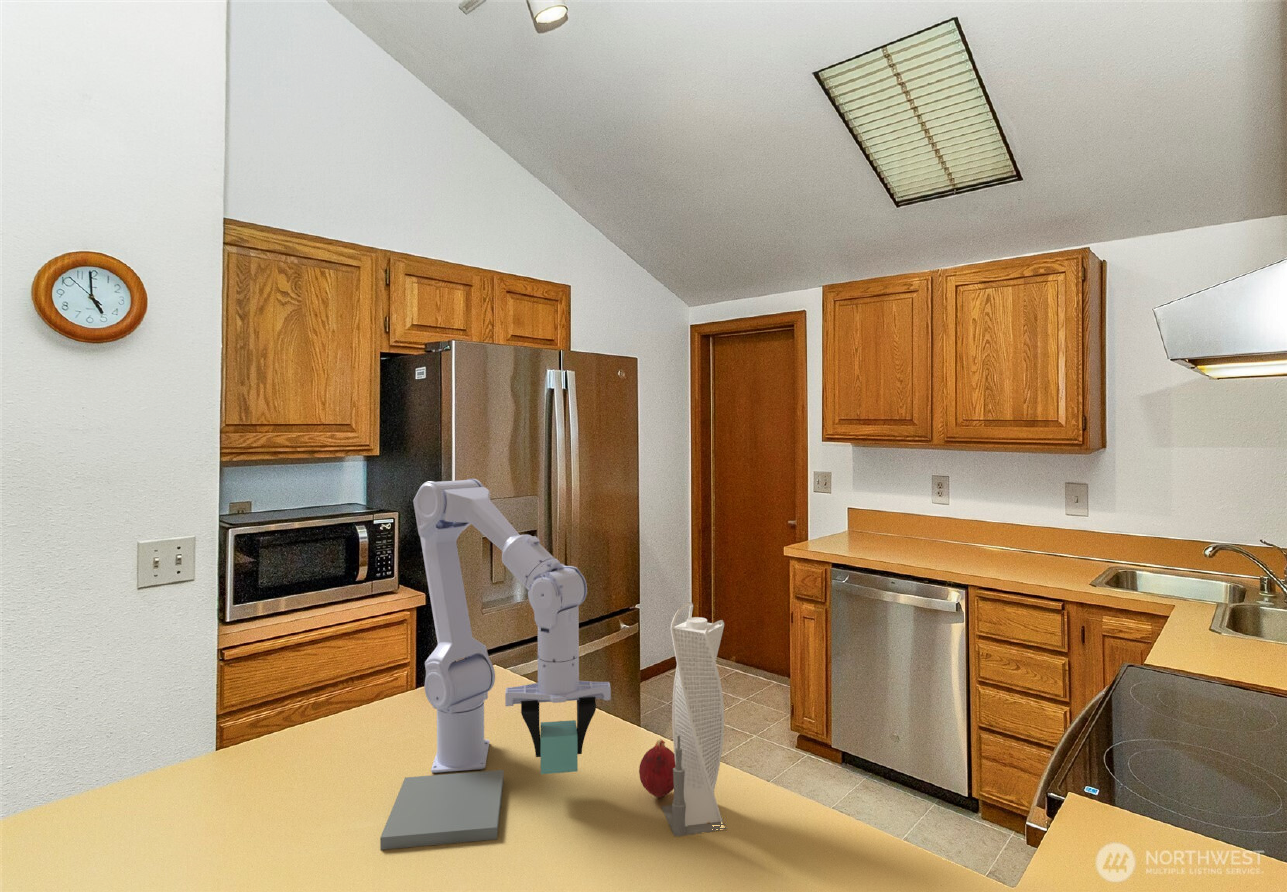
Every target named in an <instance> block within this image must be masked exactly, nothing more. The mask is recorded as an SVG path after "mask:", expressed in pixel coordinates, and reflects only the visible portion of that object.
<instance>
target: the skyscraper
mask: <svg viewBox="0 0 1287 892" xmlns="http://www.w3.org/2000/svg"><path fill="white" fill-rule="evenodd" d="M687 607H689V612H688V617H687V618H686V621H684V622H682V623H679V624H677V625H675V623H676V620H677V618H678V615H680V612H681V611H682V610H683V609H685V608H687ZM693 610H694V604H693V602H686V603H684V604H683V605H681V607H679V608H678V609H677V611H676V612H675V614H674V616H673V618H672V621H671V624H670V627H669V629H670V634H671V639H672V640H671V641H672V644H673V651H674V656H675V661H676V668H675V675H674V681H673V690H672V692H673V693H672V704H671V705H672V707H671V708H672V712H671V715H672V719H671V720H672V725H671V726H672V742H673V753H674V755H675V764H676V767H675V768H673V781H674V789H673V801H671V804H670V805H663V806H661V810H662V812H663V814H664V817H665V819H666V821H667V823H668V825H669V828H670V830H671V832H672V834H673V836H674V837H676V838H677V837H681V836H689V835H690V836H691V835H697V834H696V833H699V834H703V833H702V832H707V833H712V832H711V831H715V830H716V829H718V830H720V829H727V830H728V828H727V826H726V827H725V828H720V827H721V825H725V823H724V821H723V818H722V815H721V814H722V813H721V812H720V809H719V805H718V802H717V799H716V796H715V789H716V785H717V780H718V774H719V770H720V765H721V760H722V759H721V758H722V753H723V745H724V733H725V732H724V731H725V704H724V694H723V689H722V683H721V678H720V673H719V669H718V666H717V657H718V655H719V654H718V653H719V649H720V645H721V640H722V637H723V633H724V628H725V622H724V620H723V619H720V620H717V621H715V622H713V623H712V622H708V619H707V618H705V617H700V616H699V617H698V616H697V617H696V616H694V617H692V615H693ZM721 822H723V824H721ZM712 825H720V826H714V827H713V826H712ZM712 829H713V830H712ZM715 832H716V831H715Z"/></svg>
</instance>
